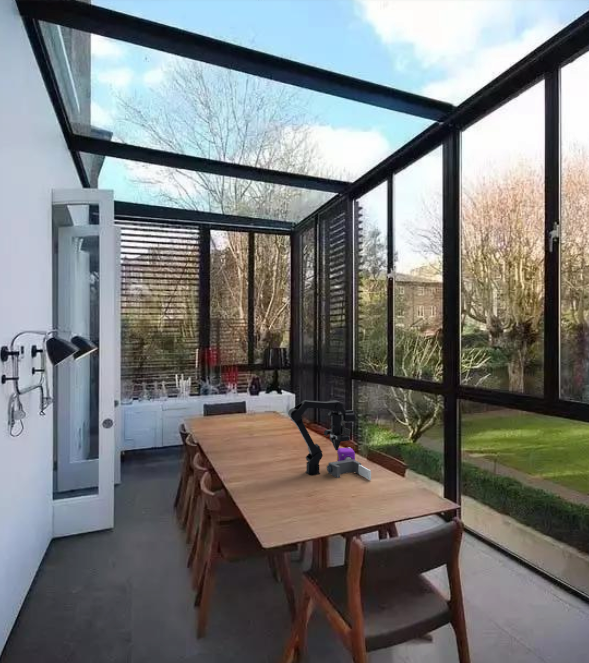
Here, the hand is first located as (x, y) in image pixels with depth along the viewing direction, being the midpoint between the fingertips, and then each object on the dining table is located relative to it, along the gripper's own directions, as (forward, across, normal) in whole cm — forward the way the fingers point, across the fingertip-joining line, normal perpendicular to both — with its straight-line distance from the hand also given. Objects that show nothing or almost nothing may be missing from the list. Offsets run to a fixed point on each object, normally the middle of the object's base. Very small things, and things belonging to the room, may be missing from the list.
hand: (336, 450), depth 244 cm
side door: (+12, -16, -8) cm, 21 cm away
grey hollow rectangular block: (+12, -6, -2) cm, 13 cm away
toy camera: (+12, +6, -11) cm, 18 cm away
